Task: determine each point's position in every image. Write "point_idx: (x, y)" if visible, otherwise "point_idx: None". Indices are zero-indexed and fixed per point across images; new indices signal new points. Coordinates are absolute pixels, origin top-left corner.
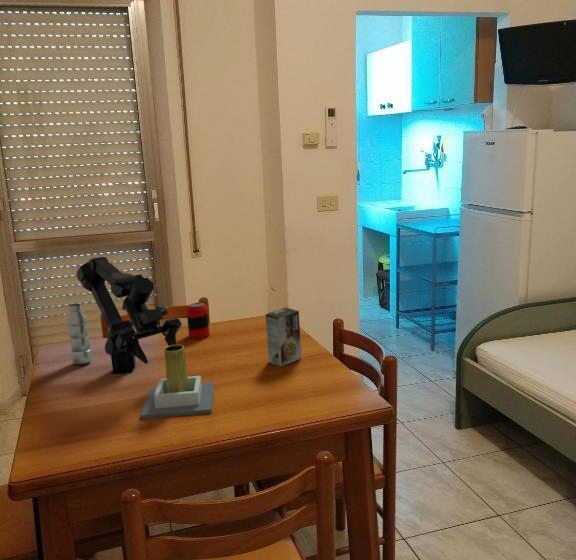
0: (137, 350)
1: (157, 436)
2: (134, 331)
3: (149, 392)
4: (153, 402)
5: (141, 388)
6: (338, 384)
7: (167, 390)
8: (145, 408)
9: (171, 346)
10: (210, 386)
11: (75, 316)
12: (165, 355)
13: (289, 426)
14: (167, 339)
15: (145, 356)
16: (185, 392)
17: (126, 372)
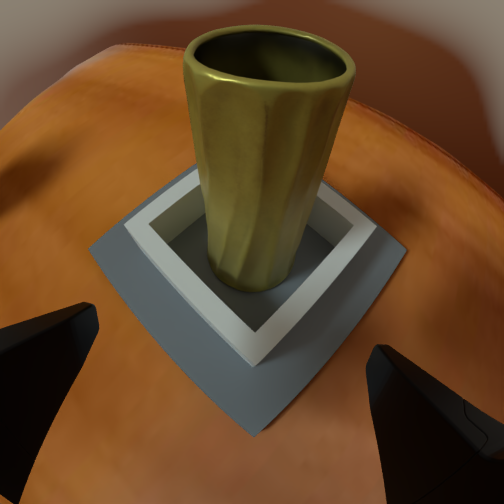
0: (478, 417)
1: (396, 162)
2: None
3: (295, 391)
4: (339, 294)
5: (266, 476)
6: (55, 93)
7: (290, 260)
8: (380, 276)
9: (240, 86)
10: (123, 228)
11: None
12: (344, 103)
13: None
14: (6, 456)
15: (400, 370)
16: None
17: None
